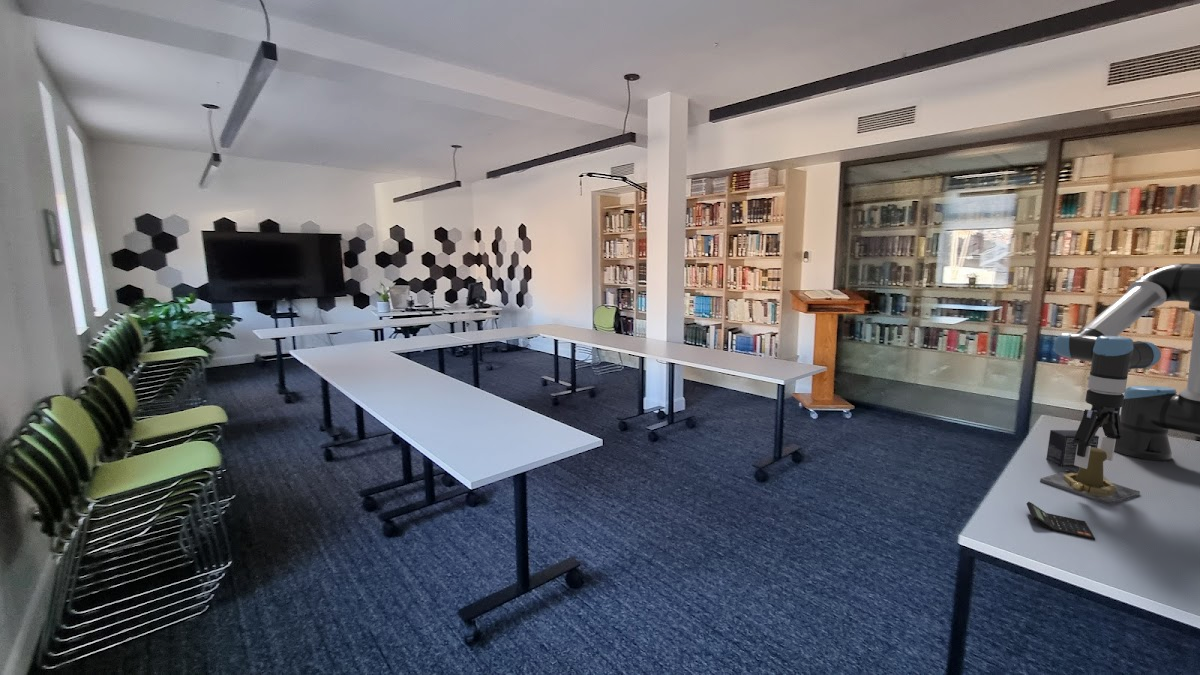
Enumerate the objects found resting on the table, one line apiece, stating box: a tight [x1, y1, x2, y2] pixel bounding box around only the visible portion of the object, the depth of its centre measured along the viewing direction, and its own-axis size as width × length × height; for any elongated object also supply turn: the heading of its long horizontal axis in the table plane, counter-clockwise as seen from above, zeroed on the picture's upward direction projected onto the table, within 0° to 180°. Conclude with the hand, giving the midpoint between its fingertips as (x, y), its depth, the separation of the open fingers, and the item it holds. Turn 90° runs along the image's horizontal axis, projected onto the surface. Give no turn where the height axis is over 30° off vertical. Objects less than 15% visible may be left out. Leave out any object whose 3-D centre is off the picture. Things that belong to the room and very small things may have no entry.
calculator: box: [1026, 501, 1096, 541], centre depth 128 cm, size 9×12×3 cm
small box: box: [1045, 429, 1100, 468], centre depth 165 cm, size 11×6×10 cm, turn 88°
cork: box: [1075, 447, 1107, 487], centre depth 148 cm, size 6×6×11 cm
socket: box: [1040, 469, 1141, 507], centre depth 148 cm, size 16×16×2 cm
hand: (1093, 463), depth 147 cm, fingers open, 13 cm apart
